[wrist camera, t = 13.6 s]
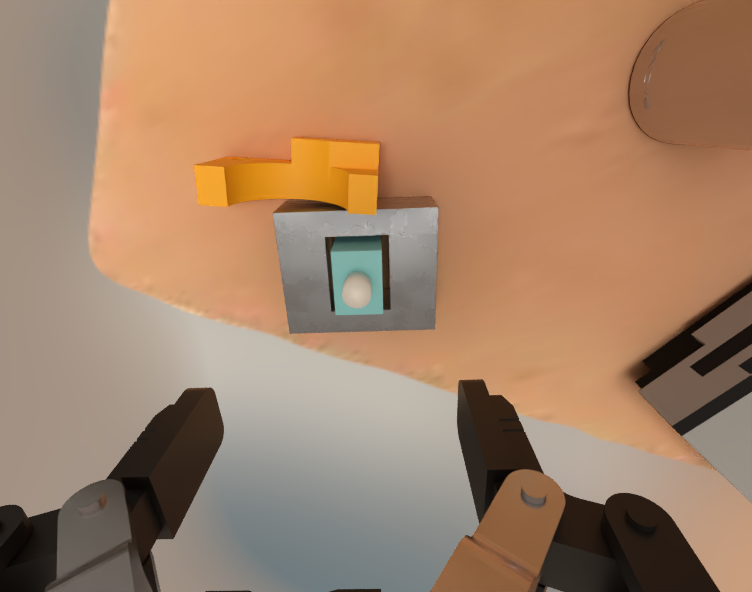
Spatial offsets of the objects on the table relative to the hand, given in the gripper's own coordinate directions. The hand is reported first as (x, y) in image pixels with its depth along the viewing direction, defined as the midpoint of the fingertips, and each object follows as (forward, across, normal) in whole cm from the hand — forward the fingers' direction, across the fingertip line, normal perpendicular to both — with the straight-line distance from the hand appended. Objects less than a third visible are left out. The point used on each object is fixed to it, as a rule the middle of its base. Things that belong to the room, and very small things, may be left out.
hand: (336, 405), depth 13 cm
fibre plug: (+23, +1, +2) cm, 23 cm away
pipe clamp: (+23, +5, -5) cm, 24 cm away
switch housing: (+23, 0, +2) cm, 23 cm away
